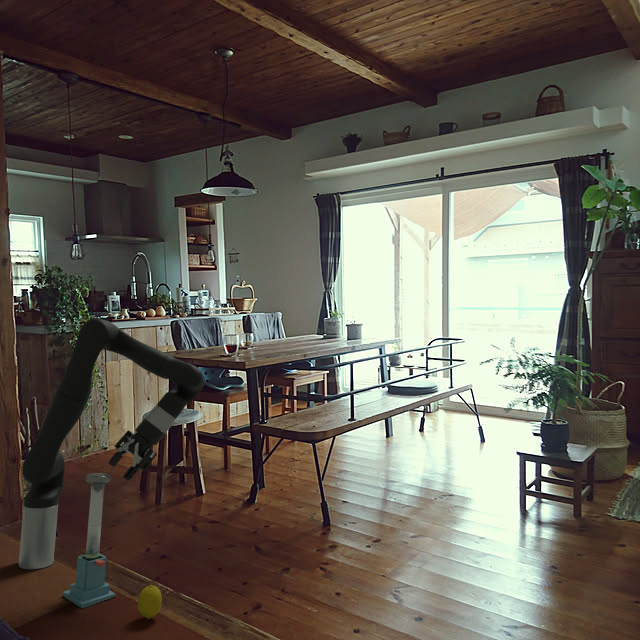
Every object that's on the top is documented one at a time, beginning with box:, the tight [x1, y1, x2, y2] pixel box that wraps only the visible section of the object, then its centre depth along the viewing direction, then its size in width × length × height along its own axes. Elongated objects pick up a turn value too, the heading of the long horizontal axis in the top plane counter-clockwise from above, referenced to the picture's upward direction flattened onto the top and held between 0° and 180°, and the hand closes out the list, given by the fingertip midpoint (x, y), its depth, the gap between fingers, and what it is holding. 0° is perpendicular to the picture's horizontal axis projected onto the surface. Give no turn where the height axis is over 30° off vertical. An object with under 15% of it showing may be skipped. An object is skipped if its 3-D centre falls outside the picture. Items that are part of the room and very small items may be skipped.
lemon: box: [137, 584, 163, 620], centre depth 136 cm, size 6×6×8 cm
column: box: [84, 472, 111, 561], centre depth 147 cm, size 6×6×24 cm
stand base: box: [62, 553, 117, 609], centre depth 146 cm, size 10×9×10 cm
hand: (118, 472), depth 159 cm, fingers open, 8 cm apart
